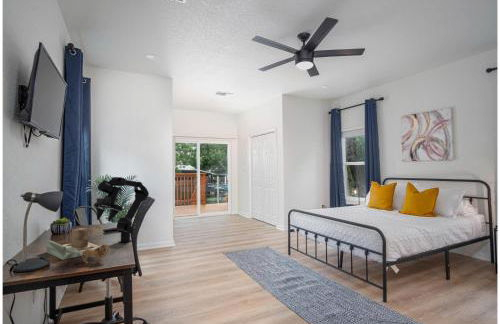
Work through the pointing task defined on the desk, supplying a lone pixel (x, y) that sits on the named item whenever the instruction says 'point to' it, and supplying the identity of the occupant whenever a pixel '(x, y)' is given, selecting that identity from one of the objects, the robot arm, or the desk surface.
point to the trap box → (67, 250)
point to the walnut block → (79, 238)
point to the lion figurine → (95, 253)
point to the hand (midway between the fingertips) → (103, 220)
